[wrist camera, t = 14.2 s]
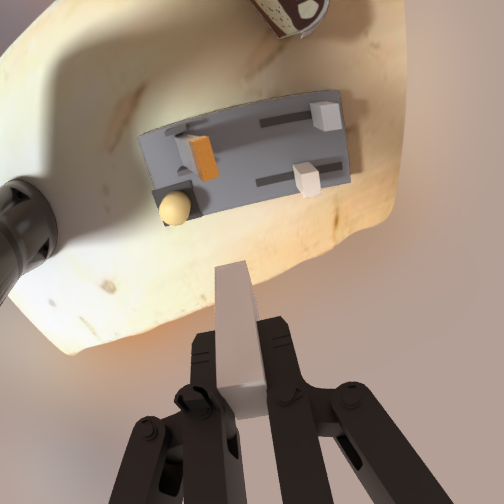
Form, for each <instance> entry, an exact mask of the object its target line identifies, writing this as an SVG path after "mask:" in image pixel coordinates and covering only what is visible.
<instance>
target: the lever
mask: <svg viewBox="0 0 504 504" xmlns="http://www.w3.org/2000/svg"><path fill="white" fill-rule="evenodd" d="M174 136H175V140H176V143H177V146H178V150H179V153H180V156H181V159H182V162H183V165H184V166H185V167H186V168H188V169H189V170H191V171H192V172H194V173H195V174H196V175H198V176H199V179H201V180H202V181H204V182H206V181H209V180H211V179H214V178H217V177H219V172H218V169H217V165H216V162H215V158H214V154H213V151H212V147H211V144H210V140H209V137H207V136H201V137H199V136H194V135H189V134H183V132H181V133H178V134H175V135H174Z"/></svg>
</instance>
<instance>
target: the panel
mask: <svg viewBox="0 0 504 504" xmlns="http://www.w3.org/2000/svg"><path fill="white" fill-rule="evenodd" d="M323 101H328V102H333V103H338V104H339V111H340V117H341V124H342V129H338V130H331V131H325V132H324V131H322V130H320V129H318V128H316V127H314V126H313V120H312V114H311V109H310V103H316V102H323ZM181 132H183V134H189V135H194V136H199V137H201V136H207V137H209V140H210V144H211V147H212V151H213V154H214V158H215V162H216V165H217V169H218V172H219V177H217V178H214V179H211V180H209V181H206V182H204V181H202V180H201V179H199V176H198V175H196V174H195V173H194V172H192V171H191V170H189V169H188V168H186V167H185V166H184V165H183V162H182V159H181V156H180V153H179V150H178V146H177V143H176V140H175V136H174V135H175V134H178V133H181ZM137 138H138V141H139V144H140V147H141V150H142V153H143V156H144V159H145V161H146V164H147V167H148V170H149V173H150V176H151V179H152V181H153V184H154V187H155V190H154V191H152V194H153V197H154V199H155V202H156V205H157V207H158V210H159V207H160V205H161V203H162V201H163V199H164V197H165V196H166V195H167V194H168V193H169V192H172V191H181V192H183V193H185V194H186V195H187V196H188V197H189V199H190V201H191V208H190V212H189V216H188V218H187V220H186V221H188V220H191V219H195V218H199V217H202V216H204V215H208V214H212V213H216V212H220V211H224V210H228V209H232V208H236V207H240V206H244V205H248V204H253V203H257V202H261V201H266V200H270V199H274V198H279V197H283V196H288V195H292V194H297V193H301V192H300V191H299V189H298V188H297V186H296V181H295V176H294V170H293V165H294V164H299V163H304V162H310V163H311V164H312V165H313V166H314V167H315V168H316V169H317V170H318V171H319V179H320V186H321V188H325V187H330V186H335V185H340V184H346V183H351V178H350V167H349V157H348V148H347V140H346V132H345V124H344V117H343V111H342V104H341V98H340V92H339V90H325V91H317V92H309V93H302V94H295V95H289V96H283V97H277V98H272V99H266V100H261V101H256V102H251V103H247V104H242V105H238V106H234V107H229V108H225V109H221V110H217V111H213V112H210V113H206V114H202V115H199V116H195V117H192V118H188V119H185V120H182V121H179V122H175V123H172V124H169V125H166V126H163V127H160V128H157V129H154V130H151V131H149V132H146V133H143V134H142V135H140V136H138V137H137ZM163 223H164V225H165V226H169V224H167V223H165V222H164V221H163Z"/></svg>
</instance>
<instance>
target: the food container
mask: <svg viewBox="0 0 504 504" xmlns="http://www.w3.org/2000/svg"><path fill="white" fill-rule="evenodd" d="M248 1H249V2H250V3H251V5H252V6H253V7H254V8H255V10H256V11H257V12H258V13H259V15H260V16H261V17H262V18H263V20H264V21H265V22H266V24H267V25H268V26H269V28H270V29H271V30H272V32H273V33H274V34H275V36H276V37H277V38H278V40H279V39H282V38H285V37H288V36H292V35H295V34H298V33H302V35H301V37H300V38H301V39H302V38H304V37H306V36H307V35H309V34H310V33H311V32H313V31H314V30H315V29H316V28H317V27H318V26H319V25H320V23H321V22H322V20H323V18H324V17H325V15H326V13H327V10H328V7H329V2H330V0H248Z"/></svg>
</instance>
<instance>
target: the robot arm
mask: <svg viewBox="0 0 504 504" xmlns="http://www.w3.org/2000/svg"><path fill="white" fill-rule="evenodd" d="M56 242H57V225H56V220H55V217H54V214H53V211H52V209H51V207H50V205H49V203H48V202H47V200H46V199H45V197H44V196H43V195H42V194H41V193H40V192H39V191H38V190H37V189H36V188H35V187H34V186H32V185H31V184H29V183H27V182H24V181H21V180H13V181H9V182H7V183H5V184H4V185H2V186H1V187H0V306H1V304H2V303H3V301H4V300H5V298H6V296H7V295H8V294H9V292H10V291H11V289H12V288H13V286H14V285H15V283H16V282H17V281H18V279H19V278H20V277H21V276H22V275H24V274H26V273H27V272H29V271H31V270H33V269H35V268H36V267H38V266H40V265H42V264H43V263H44V262H45V261H46V260H47V259H48V257H49V256H50V255H51V254H52V252H53V250H54V248H55V246H56ZM191 355H192V356H191V377H190V384H188V385H185V386H184V387H183V388H181V389H180V390H179V391H178V392H177V394H176V395H175V399H174V403H175V404H176V405H177V406H178V407H179V408H180V409H181V411H180V412H178V413H176V414H174V415H171V416H168V417H166V418H163V419H161V420H160V419H159V418H157V417H155V416H146V417H144V418H141V419H140V420H139V421H138V422H137V423H136V424H135V426H134V428H133V430H132V434H131V436H130V439H129V442H128V445H127V448H126V451H125V454H124V457H123V459H122V462H121V466H120V469H119V472H118V475H117V478H116V481H115V484H114V487H113V490H112V494H111V497H110V500H109V504H182V501H183V497H184V504H247V498H246V490H245V482H244V474H243V464H242V455H241V446H240V436H239V431H238V429H237V427H236V424H235V417H236V418H237V420H241V419H248V418H254V417H259V416H265V415H269V420H270V427H271V433H272V439H273V446H274V452H275V458H276V464H277V470H278V476H279V483H280V489H281V495H282V501H283V504H334V502H333V498H332V494H331V489H330V485H329V482H328V477H327V472H326V468H325V464H324V461H323V456H322V452H321V448H320V443H319V440H318V436H322V437H333V438H334V440H335V441H336V443H337V445H338V446H339V448H340V450H341V451H342V453H343V455H344V456H345V458H346V459H347V461H348V463H349V464H350V466H351V467H352V469H353V470H354V472H355V474H356V475H357V477H358V479H359V480H360V482H361V483H362V485H363V486H364V488H365V490H366V491H367V493H368V494H369V496H370V498H371V499H372V501H373V502H374V504H453V502H452V501H451V499H450V498H449V497H448V495H447V494H446V492H445V491H444V490H443V488H442V487H441V485H440V484H439V483H438V482H437V480H436V479H435V477H434V476H433V475H432V473H431V472H430V470H429V469H428V468H427V466H426V465H425V464H424V462H423V461H422V460H421V458H420V457H419V455H418V454H417V453H416V451H415V450H414V449H413V447H412V446H411V444H410V443H409V442H408V440H407V439H406V438H405V436H404V435H403V434H402V432H401V431H400V430H399V428H398V427H397V426H396V424H395V423H394V422H393V420H392V419H391V418H390V416H389V415H388V414H387V412H386V411H385V410H384V408H383V407H382V406H381V404H380V403H379V402H378V400H377V399H376V398H375V396H374V395H373V394H372V392H371V391H370V390H369V389H368V388H367V387H366V386H365V385H364V384H362V383H359V382H346V383H344V384H341V385H340V386H339V387H337V388H336V389H322V388H315V387H313V386H311V385H309V384H308V383H306V382H305V380H304V379H303V378H302V375H301V372H300V369H299V364H298V361H297V357H296V353H295V350H294V345H293V342H292V338H291V334H290V331H289V327H288V324H287V323H286V322H285V320H284V319H283V318H282V317H281V316H278V317H274V318H269V319H265V320H260V319H259V314H258V308H257V302H256V299H255V294H254V291H253V287H252V283H251V279H250V276H249V272H248V268H247V264H246V260H244V261H240V262H235V263H231V264H226V265H222V266H218V267H215V330H214V331H209V332H204V333H198V334H197V335H196V337H195V339H194V341H193V343H192V351H191Z"/></svg>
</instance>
